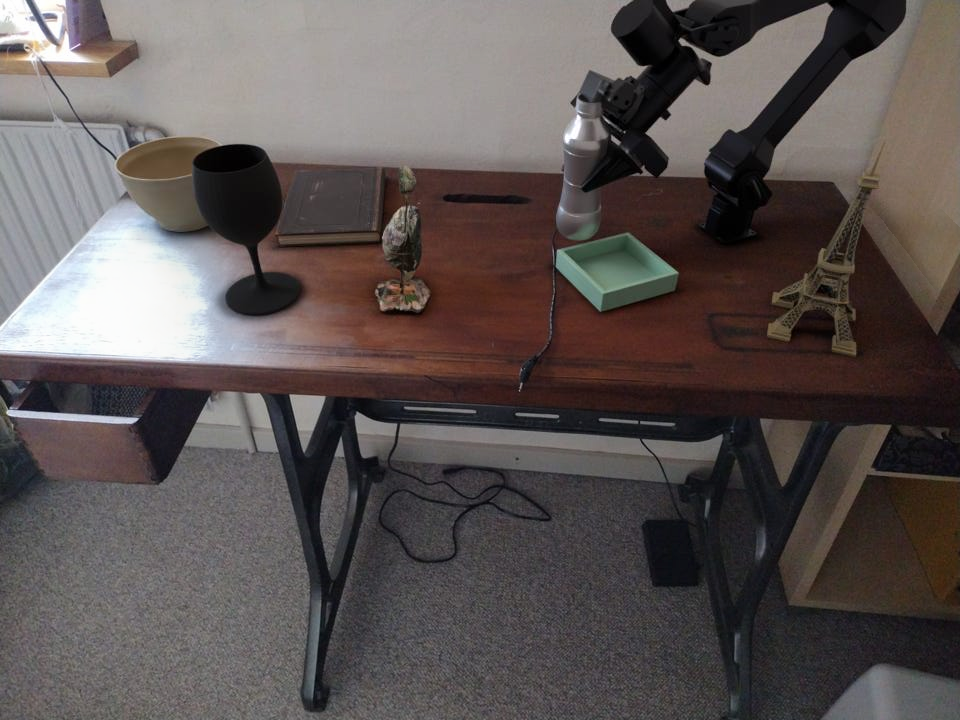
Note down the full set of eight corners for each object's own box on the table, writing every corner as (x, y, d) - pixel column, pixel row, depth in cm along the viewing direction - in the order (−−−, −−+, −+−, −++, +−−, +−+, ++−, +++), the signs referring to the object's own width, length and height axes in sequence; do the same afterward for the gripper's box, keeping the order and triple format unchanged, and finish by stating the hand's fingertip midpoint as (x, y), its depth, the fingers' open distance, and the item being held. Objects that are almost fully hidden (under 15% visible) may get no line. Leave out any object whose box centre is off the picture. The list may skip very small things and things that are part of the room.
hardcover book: (277, 247, 104) (274, 234, 102) (297, 181, 121) (295, 169, 120) (381, 243, 105) (380, 230, 103) (386, 178, 122) (384, 166, 121)
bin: (625, 249, 103) (628, 232, 101) (675, 290, 95) (679, 272, 93) (555, 267, 99) (556, 249, 98) (600, 312, 91) (603, 293, 89)
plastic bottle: (548, 240, 97) (557, 103, 83) (563, 217, 101) (574, 84, 87) (591, 250, 95) (608, 112, 81) (605, 226, 99) (623, 91, 85)
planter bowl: (118, 241, 105) (92, 175, 98) (167, 194, 117) (147, 133, 110) (216, 247, 104) (197, 181, 97) (255, 199, 116) (240, 138, 109)
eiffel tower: (766, 336, 87) (832, 150, 71) (773, 293, 94) (833, 116, 78) (855, 356, 84) (945, 166, 67) (854, 310, 91) (935, 129, 75)
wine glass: (234, 324, 89) (192, 183, 76) (218, 285, 96) (178, 150, 83) (310, 303, 92) (283, 165, 79) (290, 267, 99) (262, 135, 87)
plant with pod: (441, 274, 98) (435, 141, 85) (422, 320, 89) (412, 180, 76) (387, 269, 99) (373, 137, 86) (363, 313, 90) (344, 174, 78)
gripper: (589, 28, 89) (510, 121, 93) (662, 69, 75) (566, 176, 80) (634, 81, 96) (558, 166, 100) (708, 128, 82) (617, 224, 87)
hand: (572, 181), depth 92 cm, fingers closed on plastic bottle, 6 cm apart
